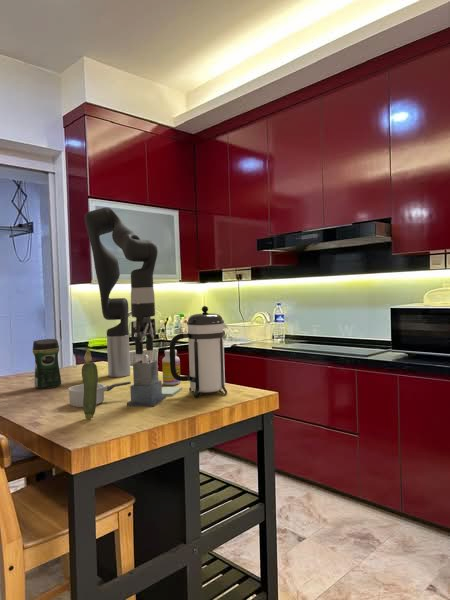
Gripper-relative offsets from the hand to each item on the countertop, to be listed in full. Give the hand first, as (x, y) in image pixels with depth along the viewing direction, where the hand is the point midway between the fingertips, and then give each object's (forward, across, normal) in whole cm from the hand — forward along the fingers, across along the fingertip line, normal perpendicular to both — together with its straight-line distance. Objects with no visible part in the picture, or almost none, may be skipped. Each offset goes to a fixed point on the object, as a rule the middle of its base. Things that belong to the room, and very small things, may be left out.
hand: (144, 352), depth 141 cm
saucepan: (+16, +1, -16) cm, 23 cm away
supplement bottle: (+16, -27, -1) cm, 32 cm away
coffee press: (+16, -12, +16) cm, 26 cm away
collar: (+10, 0, 0) cm, 10 cm away
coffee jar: (+16, -19, -49) cm, 55 cm away
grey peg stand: (+16, 0, 0) cm, 16 cm away
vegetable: (+16, +19, -9) cm, 26 cm away
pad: (+16, -13, +1) cm, 21 cm away
